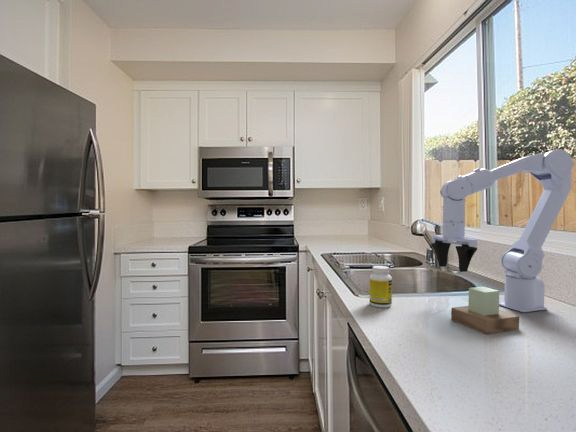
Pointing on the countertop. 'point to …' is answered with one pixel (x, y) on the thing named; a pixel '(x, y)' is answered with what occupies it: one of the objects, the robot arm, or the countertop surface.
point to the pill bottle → (380, 287)
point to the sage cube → (483, 300)
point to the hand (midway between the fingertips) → (452, 268)
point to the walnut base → (485, 320)
